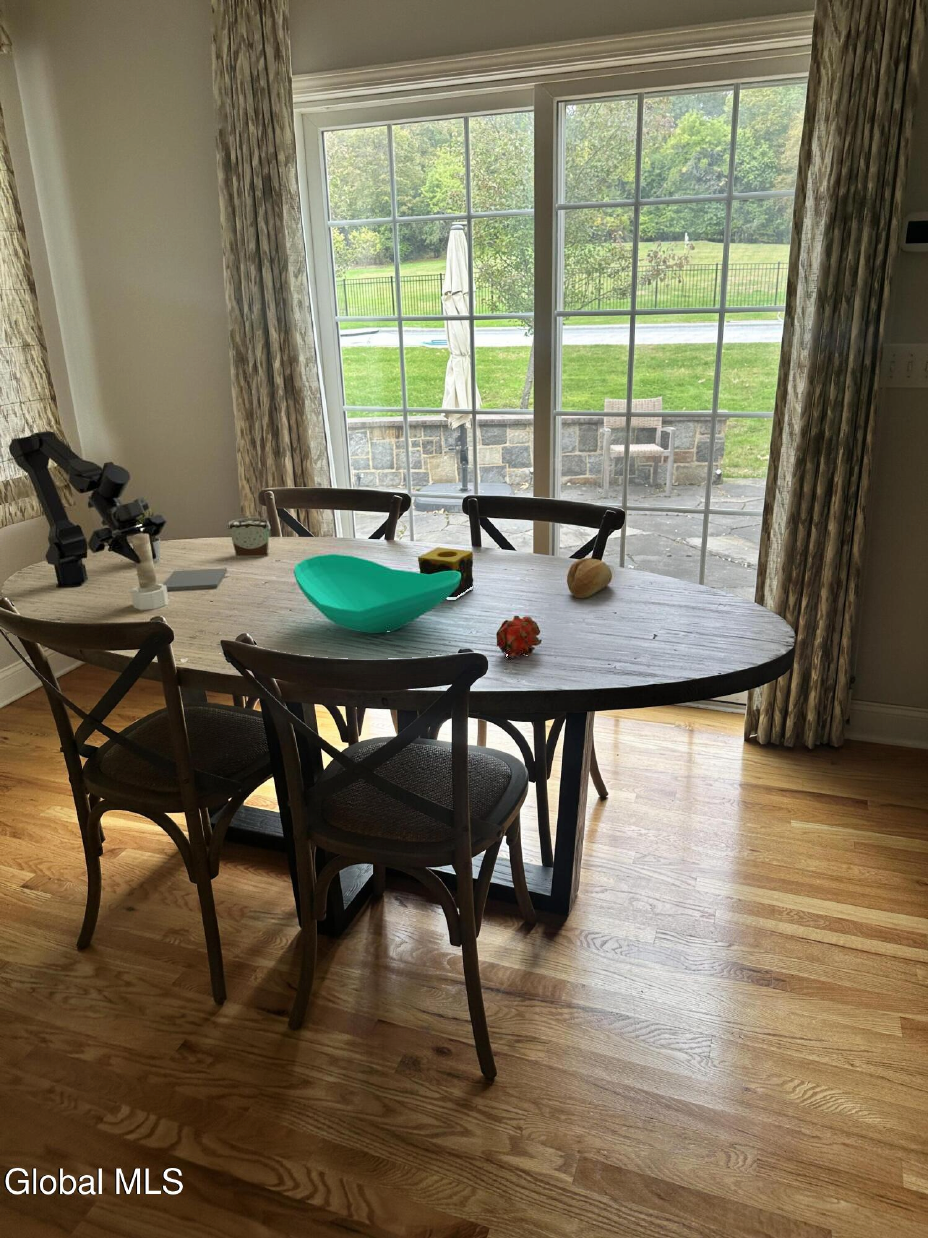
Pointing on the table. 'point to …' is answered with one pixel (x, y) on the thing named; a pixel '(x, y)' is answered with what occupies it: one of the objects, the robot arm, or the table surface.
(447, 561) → the candle
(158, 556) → the house plant
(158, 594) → the holder cup
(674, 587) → the table surface
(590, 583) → the bread roll
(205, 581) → the rubber mat
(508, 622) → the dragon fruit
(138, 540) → the birch peg
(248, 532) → the food container
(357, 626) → the table top decor
